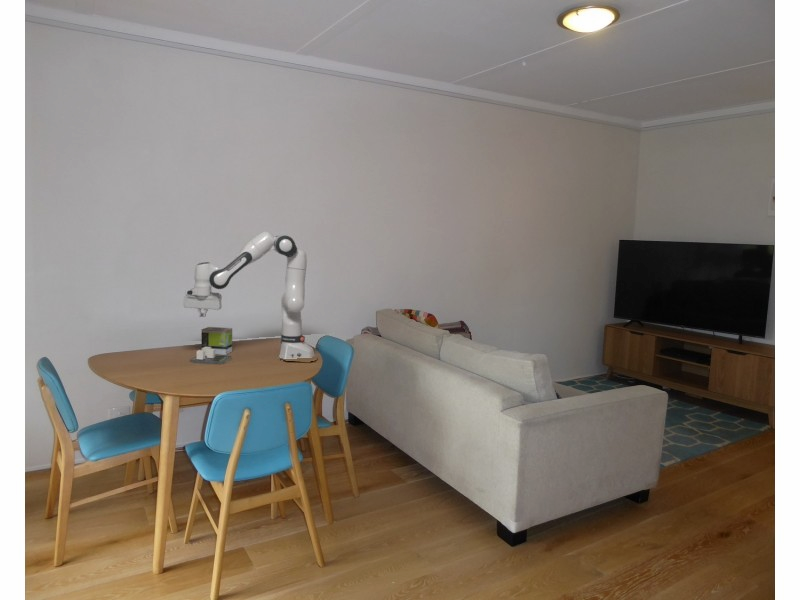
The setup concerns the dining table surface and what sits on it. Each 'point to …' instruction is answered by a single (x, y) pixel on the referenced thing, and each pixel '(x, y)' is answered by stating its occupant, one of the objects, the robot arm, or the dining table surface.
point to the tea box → (217, 339)
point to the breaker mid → (210, 353)
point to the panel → (212, 360)
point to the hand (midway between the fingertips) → (202, 316)
